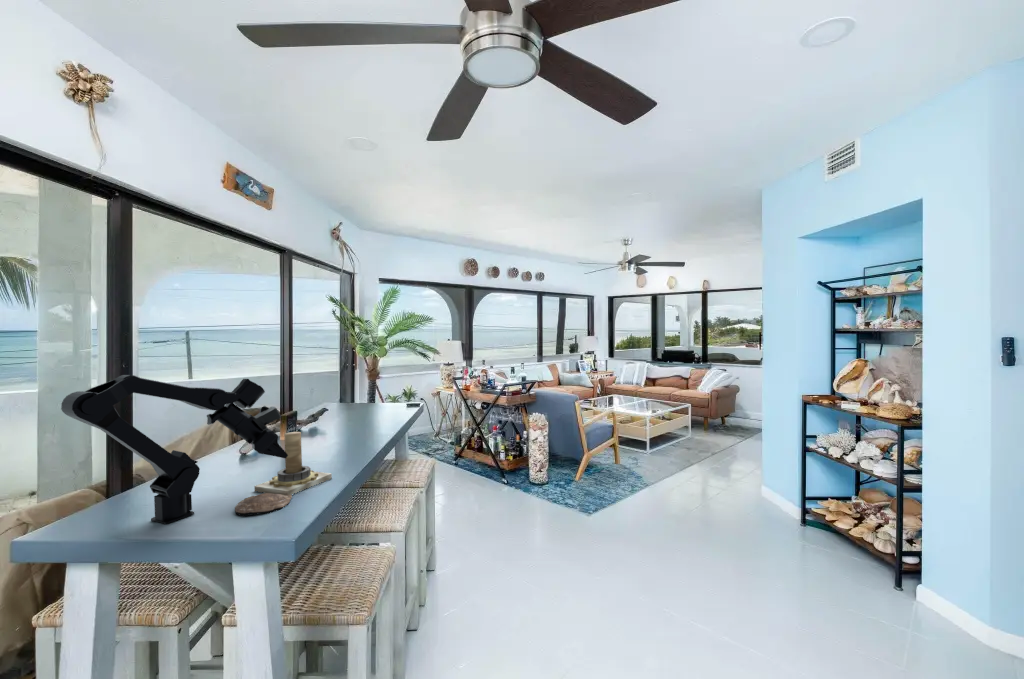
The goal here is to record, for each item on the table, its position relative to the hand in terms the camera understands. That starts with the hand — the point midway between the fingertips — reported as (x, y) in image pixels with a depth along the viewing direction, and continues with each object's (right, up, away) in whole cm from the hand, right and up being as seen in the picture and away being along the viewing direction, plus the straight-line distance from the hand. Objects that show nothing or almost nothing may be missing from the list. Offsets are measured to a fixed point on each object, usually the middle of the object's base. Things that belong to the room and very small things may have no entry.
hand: (283, 453), depth 130 cm
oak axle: (+2, -7, +2) cm, 8 cm away
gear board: (+2, -10, +2) cm, 10 cm away
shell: (+2, -11, -15) cm, 18 cm away
